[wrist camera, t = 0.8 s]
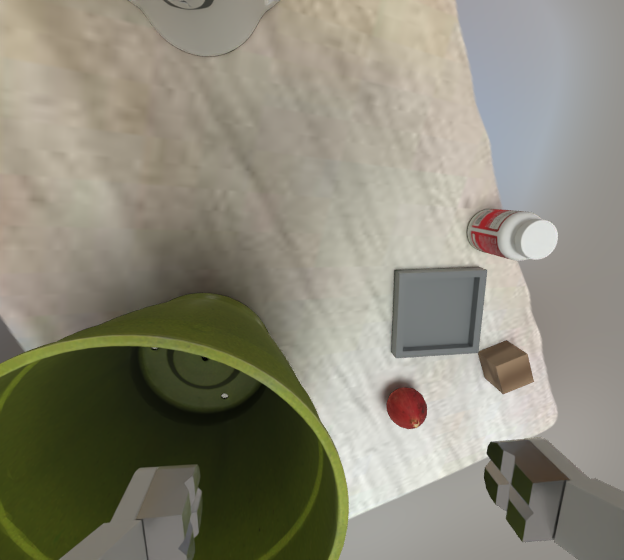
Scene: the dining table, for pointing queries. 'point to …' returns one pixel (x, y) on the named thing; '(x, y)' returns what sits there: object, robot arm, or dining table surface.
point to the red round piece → (407, 408)
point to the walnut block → (506, 366)
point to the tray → (437, 311)
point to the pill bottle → (512, 234)
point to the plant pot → (168, 435)
